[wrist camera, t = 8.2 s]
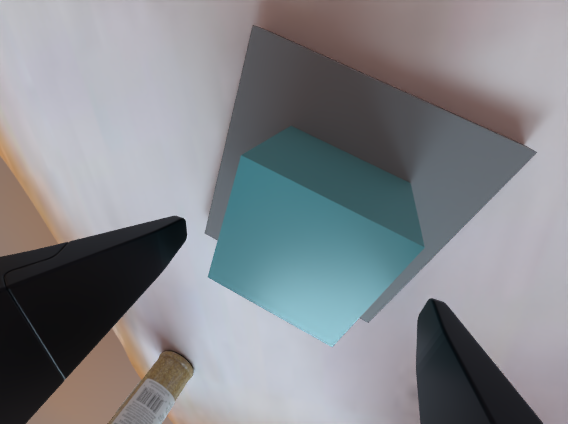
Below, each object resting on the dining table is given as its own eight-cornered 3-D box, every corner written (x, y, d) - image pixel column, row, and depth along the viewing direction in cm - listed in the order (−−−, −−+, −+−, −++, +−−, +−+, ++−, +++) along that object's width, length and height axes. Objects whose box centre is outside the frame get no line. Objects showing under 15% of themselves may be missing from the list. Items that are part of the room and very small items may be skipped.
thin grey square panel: (524, 145, 10) (598, 185, 7) (369, 310, 17) (364, 374, 13) (262, 28, 11) (206, 9, 8) (212, 225, 18) (170, 264, 15)
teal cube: (291, 125, 12) (241, 155, 8) (410, 183, 11) (424, 247, 7) (255, 221, 15) (207, 276, 11) (347, 269, 15) (332, 347, 11)
